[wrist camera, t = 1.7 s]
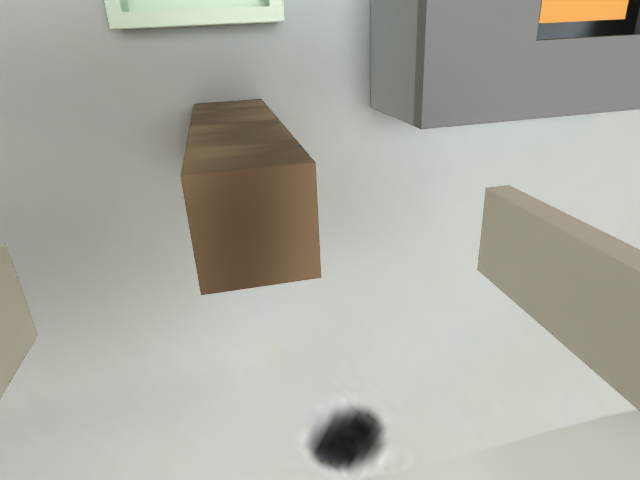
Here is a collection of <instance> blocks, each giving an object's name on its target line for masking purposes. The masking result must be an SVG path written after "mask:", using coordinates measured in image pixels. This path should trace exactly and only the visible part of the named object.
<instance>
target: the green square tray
mask: <svg viewBox="0 0 640 480" xmlns="http://www.w3.org/2000/svg"><path fill="white" fill-rule="evenodd" d="M104 3H105V7H106V12H107V17H108V22H109V27H110V29H140V28H163V27H185V26H208V25H230V24H252V23H275V22H281V21H284V6H283V0H104Z"/></svg>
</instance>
